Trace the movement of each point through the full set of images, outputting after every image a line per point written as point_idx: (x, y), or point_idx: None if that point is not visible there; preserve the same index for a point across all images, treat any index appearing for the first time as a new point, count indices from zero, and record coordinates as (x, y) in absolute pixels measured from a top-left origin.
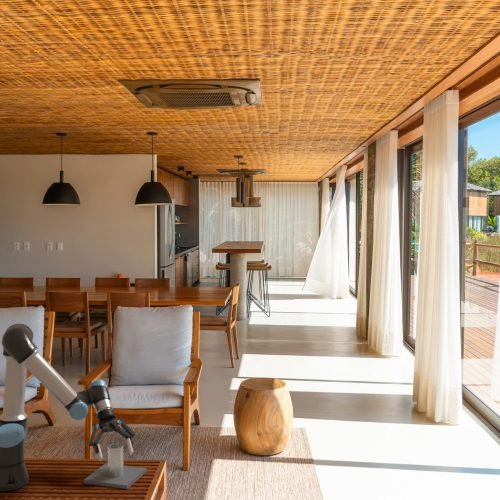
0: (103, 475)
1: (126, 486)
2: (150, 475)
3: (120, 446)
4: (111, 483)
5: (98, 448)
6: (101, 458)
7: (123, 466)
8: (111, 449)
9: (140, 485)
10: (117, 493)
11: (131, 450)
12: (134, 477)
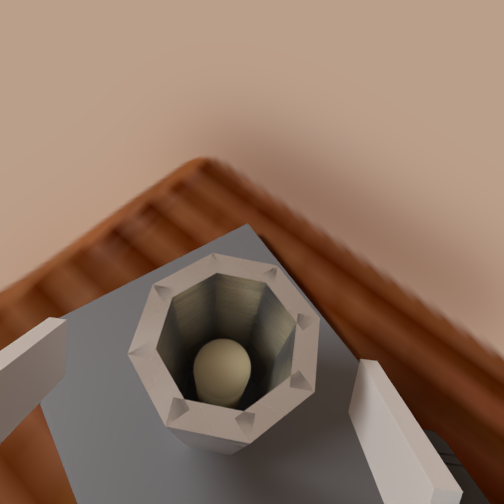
0: (296, 429)
1: (248, 229)
2: (52, 292)
3: (191, 283)
4: (300, 290)
5: (425, 449)
6: (373, 364)
7: (97, 494)
8: (299, 302)
9: (174, 231)
10: (297, 232)
11: (57, 326)
12: (165, 273)
